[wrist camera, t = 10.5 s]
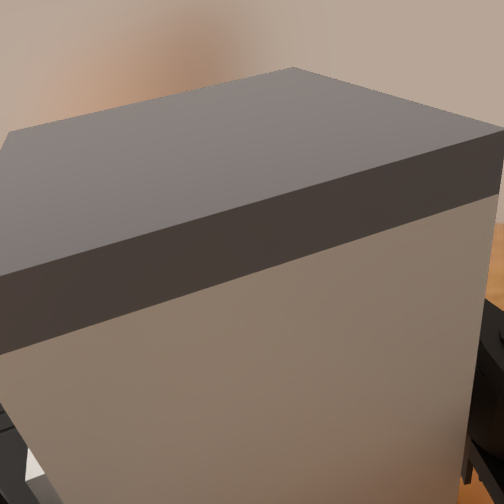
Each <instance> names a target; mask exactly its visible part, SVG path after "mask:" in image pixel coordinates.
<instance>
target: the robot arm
mask: <svg viewBox="0 0 504 504" xmlns="http://www.w3.org/2000/svg"><path fill="white" fill-rule="evenodd" d="M473 467H474V468H475V470H476V472H477V474H478V475H479V481H480V482H481V481H482V482H483V484H484V486H485V488H486V489H487V491H488V493H489V495H490V496H491V498H492V500H493V502H494V503H495V504H504V311H502V310H501V309H499V308H498V307H496V306H495V305H494V304H492V303H491V302H489V301H488V300H487V299H485V300H484V307H483V315H482V322H481V329H480V337H479V344H478V351H477V359H476V366H475V373H474V381H473V388H472V395H471V403H470V410H469V418H468V425H467V432H466V440H465V447H464V454H463V462H462V469H461V476H462V479H463V482H464V485H466V484H471V478H472V471H473ZM0 504H64V503H63V501H62V500H61V498H60V497H59V495H58V493H57V492H56V490H55V489H54V487H53V485H52V484H51V482H50V481H49V479H48V478H47V476H46V474H45V473H44V471H43V470H42V468H41V466H40V465H39V463H38V462H37V460H36V459H35V457H34V455H33V454H32V452H31V451H30V449H29V447H28V446H27V444H26V443H25V441H24V440H23V438H22V436H21V435H20V433H19V432H18V430H17V428H16V427H15V425H14V424H13V422H12V421H11V419H10V417H9V416H8V414H7V413H6V411H5V409H4V408H3V406H2V405H1V403H0Z"/></svg>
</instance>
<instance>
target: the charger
mask: <svg viewBox="0 0 504 504" xmlns="http://www.w3.org/2000/svg"><path fill="white" fill-rule="evenodd" d="M503 160H504V128H503V127H499V126H495V125H492V124H489V123H485V122H481V121H479V120H475V119H471V118H468V117H465V116H461V115H458V114H454V113H451V112H447V111H444V110H440V109H437V108H434V107H430V106H427V105H423V104H419V103H416V102H413V101H409V100H406V99H402V98H399V97H395V96H392V95H389V94H385V93H382V92H378V91H375V90H371V89H368V88H364V87H361V86H357V85H354V84H350V83H347V82H343V81H340V80H337V79H333V78H330V77H326V76H323V75H319V74H316V73H312V72H308V71H305V70H302V69H298V68H295V67H291V68H287V69H283V70H278V71H274V72H270V73H265V74H261V75H257V76H252V77H248V78H243V79H239V80H235V81H230V82H226V83H221V84H217V85H213V86H209V87H204V88H200V89H195V90H191V91H186V92H182V93H178V94H173V95H169V96H165V97H160V98H156V99H152V100H148V101H143V102H138V103H134V104H129V105H125V106H121V107H117V108H112V109H108V110H104V111H99V112H94V113H90V114H86V115H82V116H77V117H73V118H69V119H64V120H59V121H56V122H51V123H46V124H42V125H38V126H33V127H29V128H24V129H20V130H16V131H11V132H9V133H8V136H7V138H6V140H5V142H4V144H3V146H2V148H1V150H0V403H1V405H2V406H3V408H4V409H5V411H6V413H7V414H8V416H9V417H10V419H11V421H12V422H13V424H14V425H15V427H16V428H17V430H18V432H19V433H20V435H21V436H22V438H23V440H24V441H25V443H26V444H27V446H28V447H29V449H30V451H31V452H32V454H33V455H34V457H35V459H36V460H37V462H38V463H39V465H40V466H41V468H42V470H43V471H44V473H45V474H46V476H47V478H48V479H49V481H50V482H51V484H52V485H53V487H54V489H55V490H56V492H57V493H58V495H59V497H60V498H61V500H62V501H63V503H64V504H457V498H458V491H459V484H460V476H461V469H462V462H463V454H464V447H465V440H466V432H467V425H468V418H469V410H470V403H471V395H472V388H473V381H474V373H475V366H476V359H477V351H478V344H479V337H480V329H481V322H482V315H483V307H484V300H485V293H486V285H487V278H488V271H489V263H490V256H491V249H492V241H493V234H494V226H495V219H496V212H497V204H498V197H499V189H500V182H501V175H502V168H503Z"/></svg>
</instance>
